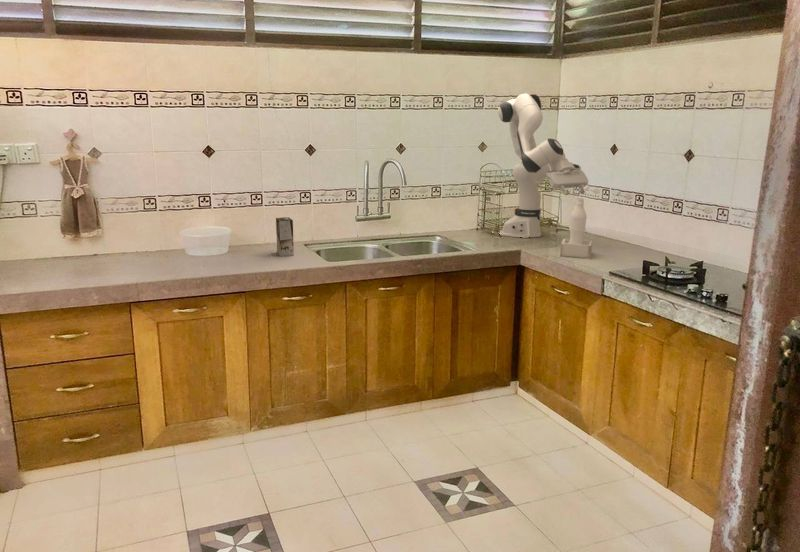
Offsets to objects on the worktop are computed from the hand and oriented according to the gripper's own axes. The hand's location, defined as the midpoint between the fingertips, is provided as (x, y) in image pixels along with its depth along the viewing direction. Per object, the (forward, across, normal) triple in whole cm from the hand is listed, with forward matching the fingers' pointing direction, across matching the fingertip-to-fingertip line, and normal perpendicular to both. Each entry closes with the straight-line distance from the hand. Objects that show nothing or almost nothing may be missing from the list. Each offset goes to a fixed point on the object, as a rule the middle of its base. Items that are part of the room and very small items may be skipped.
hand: (575, 193), depth 295 cm
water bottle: (+23, -3, +15) cm, 27 cm away
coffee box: (-15, -124, +53) cm, 136 cm away
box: (+24, -2, +15) cm, 28 cm away
